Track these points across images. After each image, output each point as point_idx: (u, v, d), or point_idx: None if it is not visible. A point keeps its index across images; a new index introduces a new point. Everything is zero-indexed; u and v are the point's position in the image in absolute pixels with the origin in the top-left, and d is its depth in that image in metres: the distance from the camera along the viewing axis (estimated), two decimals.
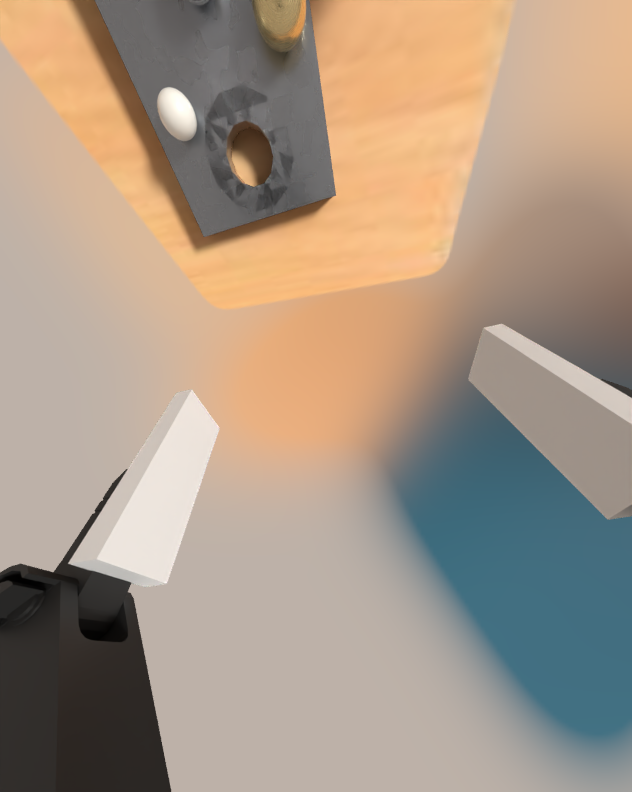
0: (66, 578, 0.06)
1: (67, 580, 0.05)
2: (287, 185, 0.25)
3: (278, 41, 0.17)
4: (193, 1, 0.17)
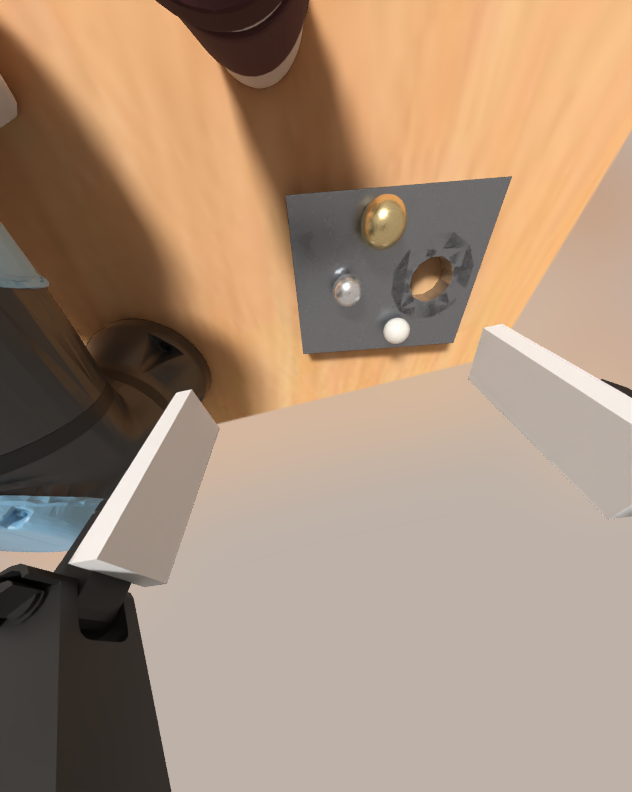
0: (66, 578, 0.06)
1: (67, 580, 0.05)
2: (468, 245, 0.23)
3: (404, 231, 0.20)
4: None
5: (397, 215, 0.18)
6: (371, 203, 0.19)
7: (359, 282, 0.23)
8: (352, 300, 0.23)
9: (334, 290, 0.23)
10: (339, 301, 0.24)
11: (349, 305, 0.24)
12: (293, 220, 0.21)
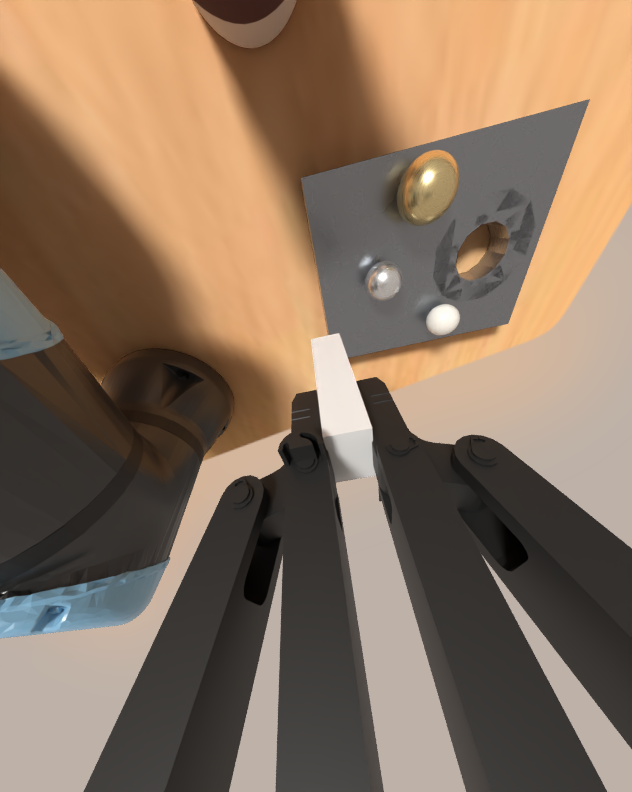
0: (327, 458, 0.07)
1: (327, 460, 0.07)
2: (528, 202, 0.19)
3: None
4: None
5: (449, 174, 0.14)
6: (411, 166, 0.15)
7: (398, 269, 0.19)
8: (392, 292, 0.19)
9: (368, 283, 0.20)
10: (375, 295, 0.20)
11: (388, 298, 0.20)
12: (312, 207, 0.18)
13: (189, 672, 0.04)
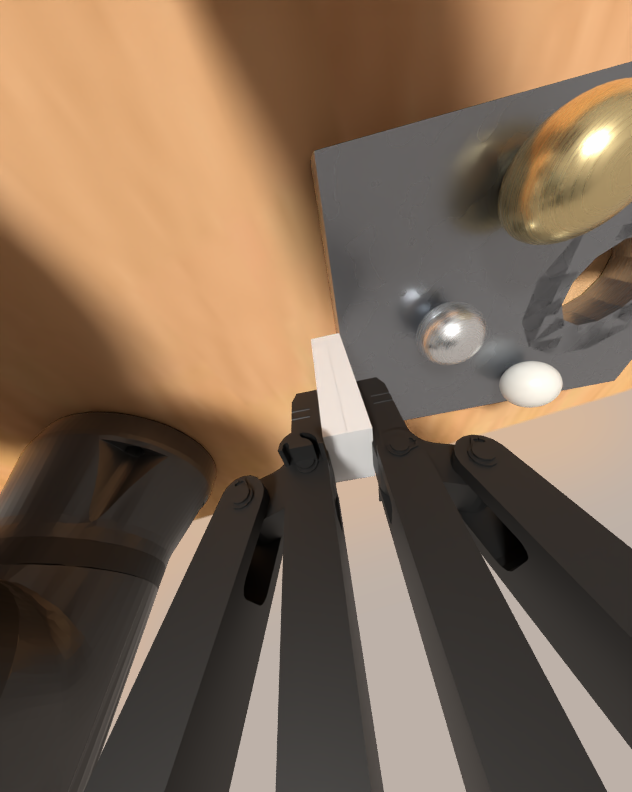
0: (327, 459, 0.07)
1: (327, 461, 0.07)
2: None
3: None
4: None
5: None
6: (561, 119, 0.07)
7: (483, 318, 0.11)
8: (468, 356, 0.11)
9: (426, 340, 0.11)
10: (437, 359, 0.12)
11: (456, 363, 0.12)
12: (333, 209, 0.10)
13: (189, 672, 0.04)
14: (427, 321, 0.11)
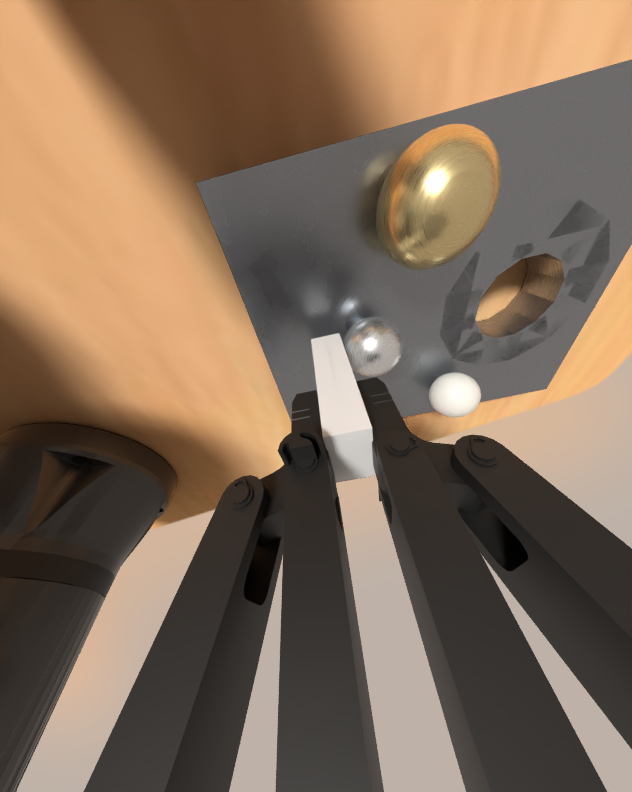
0: (327, 458, 0.07)
1: (327, 461, 0.07)
2: (604, 222, 0.11)
3: None
4: None
5: (484, 176, 0.07)
6: (402, 160, 0.07)
7: (397, 329, 0.12)
8: (394, 365, 0.12)
9: (355, 357, 0.11)
10: (369, 373, 0.12)
11: (385, 373, 0.12)
12: (228, 235, 0.10)
13: (189, 672, 0.04)
14: (350, 339, 0.11)
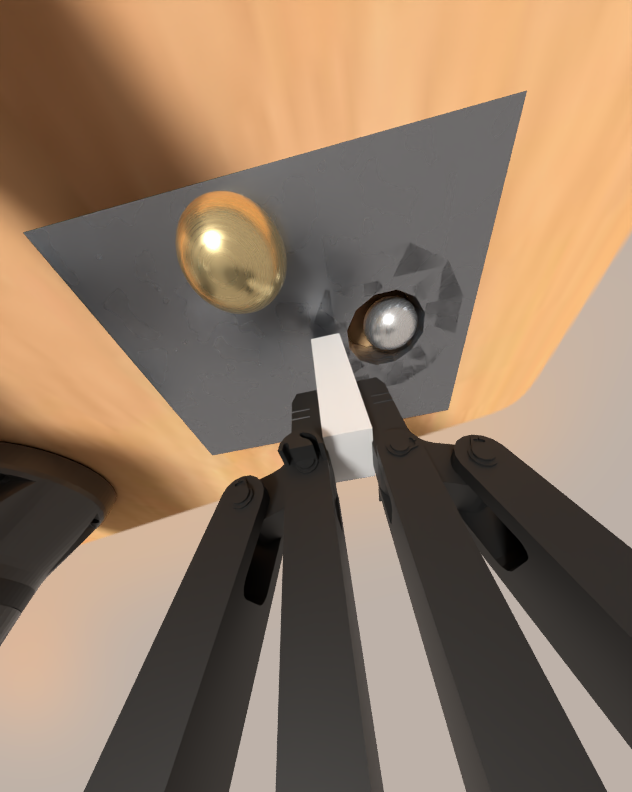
0: (327, 459, 0.07)
1: (327, 461, 0.07)
2: (444, 262, 0.11)
3: (282, 270, 0.09)
4: None
5: (232, 243, 0.07)
6: None
7: (411, 304, 0.14)
8: (412, 335, 0.14)
9: (381, 331, 0.13)
10: (393, 345, 0.14)
11: (403, 344, 0.14)
12: (71, 277, 0.11)
13: (189, 672, 0.04)
14: (375, 316, 0.13)
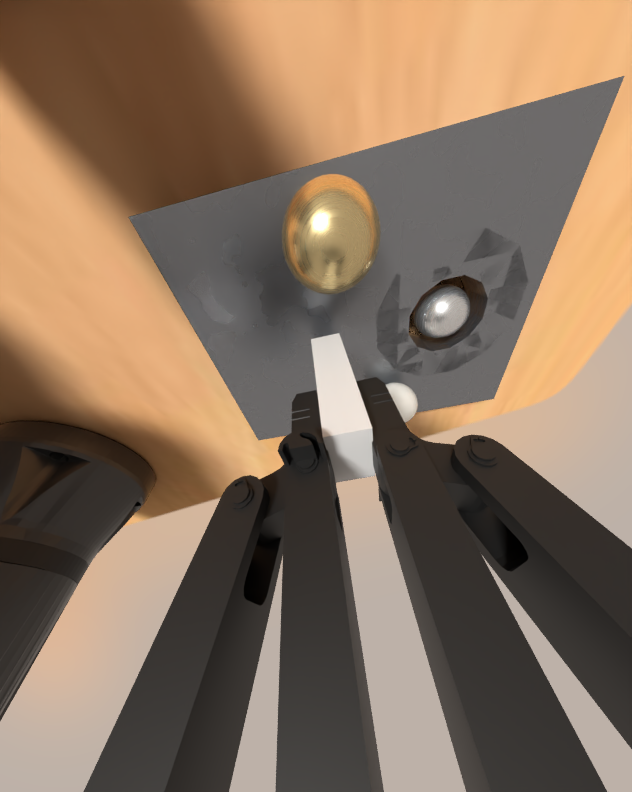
0: (327, 458, 0.07)
1: (327, 460, 0.07)
2: (515, 248, 0.12)
3: (377, 251, 0.09)
4: None
5: (349, 222, 0.08)
6: (290, 204, 0.08)
7: (466, 294, 0.14)
8: (460, 326, 0.14)
9: (427, 317, 0.14)
10: (437, 332, 0.14)
11: (450, 334, 0.15)
12: (163, 260, 0.11)
13: (189, 672, 0.04)
14: (425, 302, 0.14)
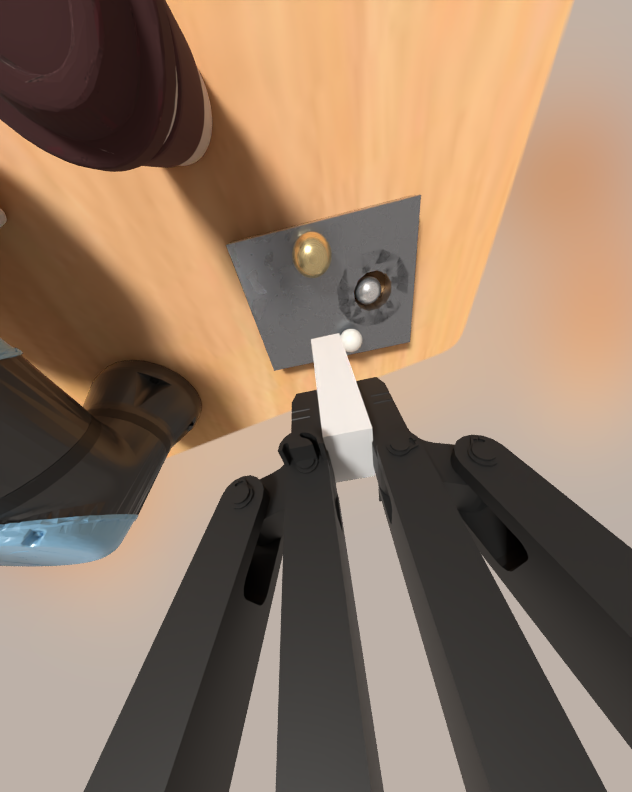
0: (327, 458, 0.07)
1: (327, 460, 0.07)
2: (398, 257, 0.26)
3: (330, 260, 0.23)
4: None
5: (317, 250, 0.21)
6: (296, 242, 0.22)
7: (377, 282, 0.27)
8: (373, 298, 0.28)
9: (357, 292, 0.28)
10: (362, 300, 0.28)
11: (371, 302, 0.28)
12: (237, 263, 0.25)
13: (189, 672, 0.04)
14: (357, 284, 0.28)
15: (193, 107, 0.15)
